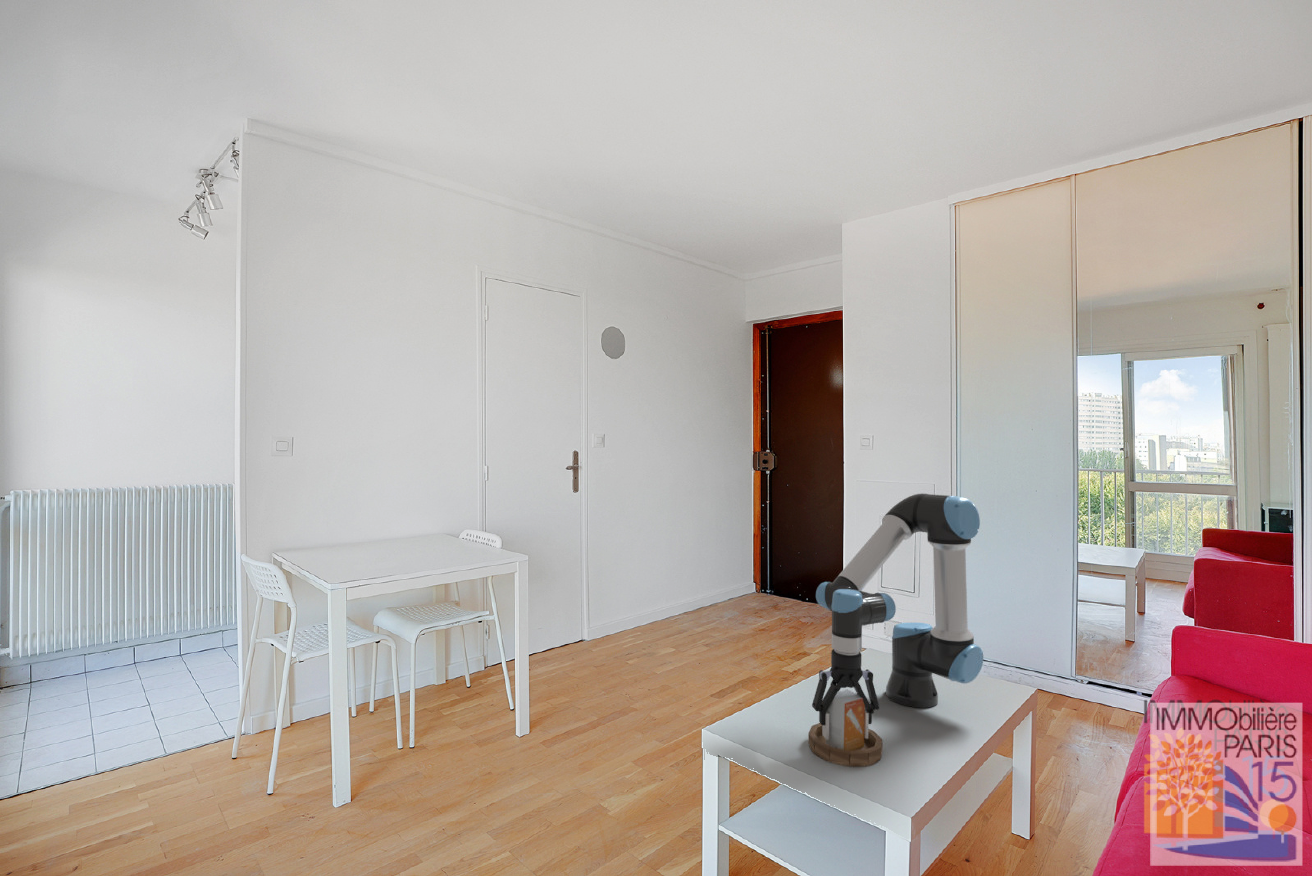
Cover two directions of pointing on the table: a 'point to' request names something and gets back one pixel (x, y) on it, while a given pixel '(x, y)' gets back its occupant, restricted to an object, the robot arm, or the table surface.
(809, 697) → the table surface
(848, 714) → the small box
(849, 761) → the walnut bowl
